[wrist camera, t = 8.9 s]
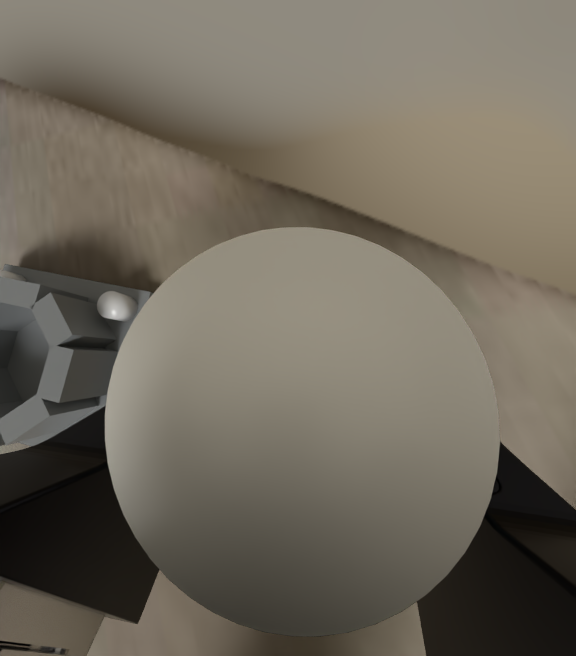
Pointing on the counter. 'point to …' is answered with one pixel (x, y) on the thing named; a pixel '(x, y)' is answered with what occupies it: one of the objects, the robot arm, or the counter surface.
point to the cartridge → (302, 431)
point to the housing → (57, 349)
